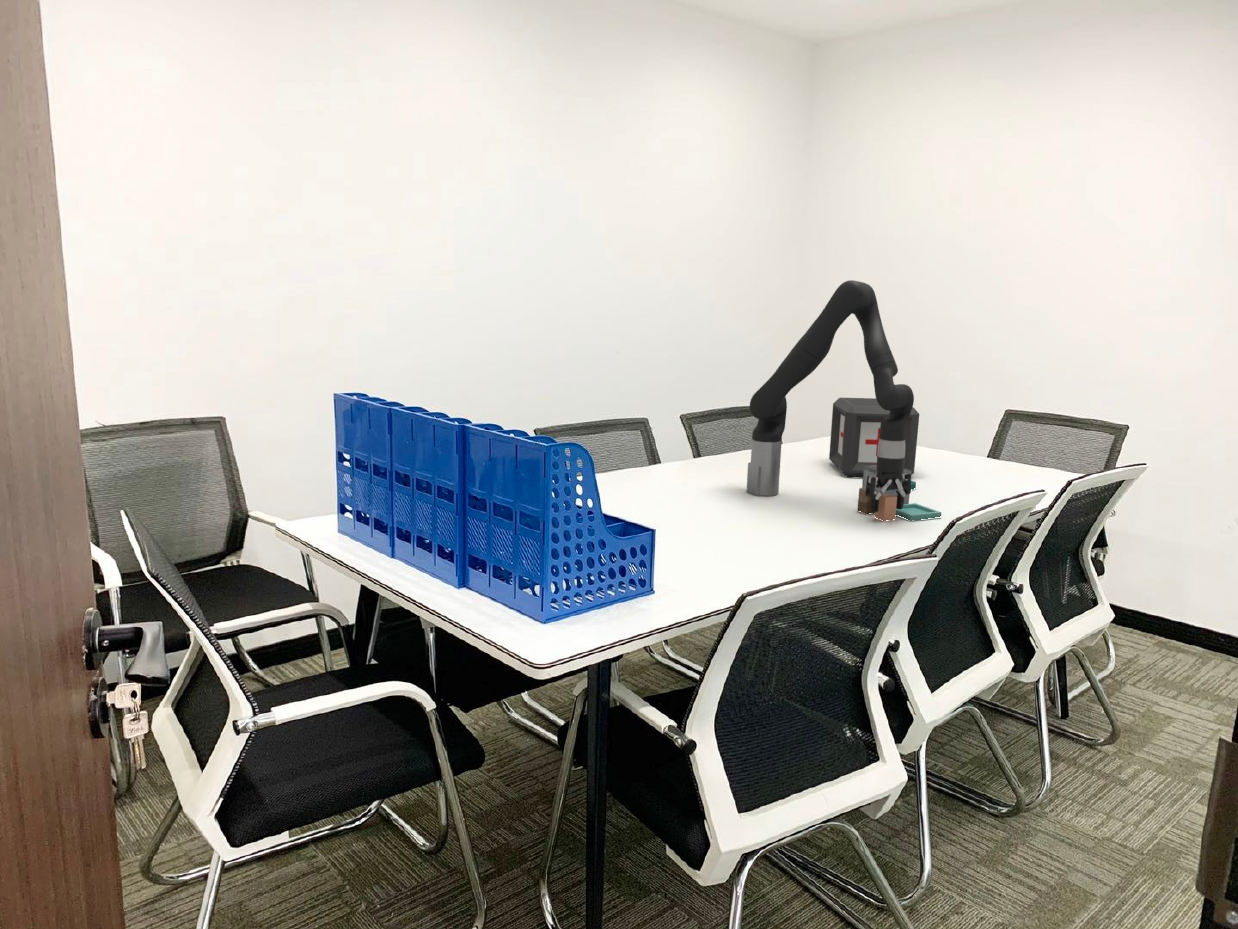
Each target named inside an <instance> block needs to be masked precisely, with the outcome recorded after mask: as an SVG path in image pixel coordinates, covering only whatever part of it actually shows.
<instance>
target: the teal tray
mask: <svg viewBox="0 0 1238 929" xmlns="http://www.w3.org/2000/svg"><path fill="white" fill-rule="evenodd" d="M896 515H899V516H901V517H904V518H906V519H908V520H910V521H912V520H921V519H928V518H935V517H940V516H941V517H942V512H941V511H939V510H936V509H934V508H930V507H928V506H925V505H921V504H919V503H917V502H914V503H909V504H904V505H903V507H902V509H900V510H899V509H896ZM908 520H907V521H908ZM910 521H909V522H910ZM921 521H922V520H921ZM912 522H913V521H912Z"/></svg>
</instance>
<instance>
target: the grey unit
mask: <svg viewBox="0 0 1238 929" xmlns="http://www.w3.org/2000/svg"><path fill="white" fill-rule="evenodd" d="M904 472H905V473H908V474H911V473H912V471H911V470H907V469H904V471H903V472H902V474H903V473H904ZM868 476H872V477H876V476H877V469H876V465H872V466H864V470H863V478H862V483H861V484H862V486H861V488H866V483H867V477H868ZM876 482H877V481H876ZM876 484H877V483H876ZM876 484H875V485H876ZM900 484H901V485H902V480H901V482H900ZM879 489H881V488H880V487H879ZM883 494H890V495H893V496H898V495H897V494H896V492H895V490H888V491H886V490H885V492H884V493H883ZM910 494H911V493H910ZM910 494H907V495H905V497H904V504H910Z"/></svg>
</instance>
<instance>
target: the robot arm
mask: <svg viewBox="0 0 1238 929" xmlns="http://www.w3.org/2000/svg"><path fill="white" fill-rule="evenodd" d="M879 309H880V308H879V305H878V300H877V296H876V293H875V291H874V289H873V287H872V286H871V285H870V284H868V283H865V282H862V281H859V280H850V279H849V280H846V281H844V282H842V283H841V284H840V285H839V286H838V287H837V288H836V289H835V291H834V292H833V294H832V295H831V297H830V298H829V300H828V302H827V303H826V305H825V307H824V308H823V309H822V310H821V313H820V314H819V315H818V316H817V317H816V319H815V320H814V321H813V323H812V324H811V325H810V326H809V327H808V329H807V330H806V331H805V333H804V334H803V335H802V336H801V337H800V339H799V340H798V341H797V343H795V345H794V346H793V347H792V349H791V350H790V351H789V352H788V354H787V356H786V357H785V358H784V360H782V361H781V363H780V364H779V366H778V367H777V368H776V369H775V371H774V373H773V374H772V375H771V376H770V377H769V378H768V380H767V381H766V382H765V383H763V385H762V386H760V387H759V388H758V390H757V391H756V392H754V394H753V395H752V396H751V397H750V401H749V410H750V413H751V415H752V416H753V417H754V418H755V419H757V424H756V426H755V427H754V428H753V430H752V433H751V434H752V435H751V448H750V449H751V452H750V462H748V463H747V474H746V477H747V478H746V492H747V493H750V494H751V495H753V496H755V497H757V496H759V497H760V496H761V497H772V496H777V495H779V492H780V491H779V488H780V474H781V473H780V471H781V470H780V469H781V459H782V458H781V457H782V456H781V455H782V443H783V442H782V441H783V434H784V433H785V429H786V421H787V420H786V418H787V410H788V409H787V408H788V404H787V403H788V401H787V397H786V396H787V395H788V393H789V392H790V391H791V390H792V389H794V387H796V386H797V385H798V384H800V383H801V382H803V380H805V379H806V378H808V376H809V375H811V374H812V373H813V372H814V371H815V370H816V369H817V368H818V367H819V365H820V364H821V363H822V362H823V361H824V359H826V356H827V355H828V354H829V352H830V350H831V347H832V345H833V341H834V339H835V335H836V333H837V331H838V330H839V328H840V326H842V325H843V323H844V322H845V321H846V320H847V319H848V318H849V317H850V316H851V315H854V317H855V319H856V320H857V321H858V323H859V325H860V329H861V330H862V335H863V347H864V348H863V349H864V355H865V358H866V360H867V363H868V364H867V365H868V367H869V369H870V371H871V374H872V376H873V386H874V394H875V398H876V400H877V402H878V404H879V405H880V406H881V407H882V408H883V409H884V410H890V413H889V415H888V417H886V418H884V419H883V420H882V421H881V425H880V437H879V443H878V451H877V465H876V469H877V476H876V477H872V476H868V477H867V483H866V491H865V496H867V497H870V498H871V510H872V511H873V512H878V509H879V500H878V499H879V497H880V496H881V494H883V493H884V492H885V490H886V491H888V490H895V492H896V494H897V495H898V496H896V497H897V504H896V509H899V510H900V509H902V507H903V505H904V497H905V495H907V494H911V481H912V475H911V474H908V473H905V472H904V473H903V474H902V472H903V471H904V460H905V436H906V425H907V422H908V420H909V417H910V413H911V410H912V407H913V406H914V402H915V401H914V400H915V395H914V392H913V389H912V388H911V387H910V386H909V385H908V384H906V383H905V384H903V383H900V384H895V383H894V377H895V376H896V375H897V374H898V373H899V368H898V365H897V362H896V360H895V358H894V355H893V352H892V349H891V346H890V345H889V342H888V339H887V336H886V334H885V328H884V327H883V323H882V318H881V314H880V310H879ZM901 480H902V485H901V484H900V482H901ZM876 481H877V482H876ZM876 483H877V484H876ZM875 484H876V485H875ZM879 487H880V488H881V489H879ZM876 493H877V494H876Z"/></svg>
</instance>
